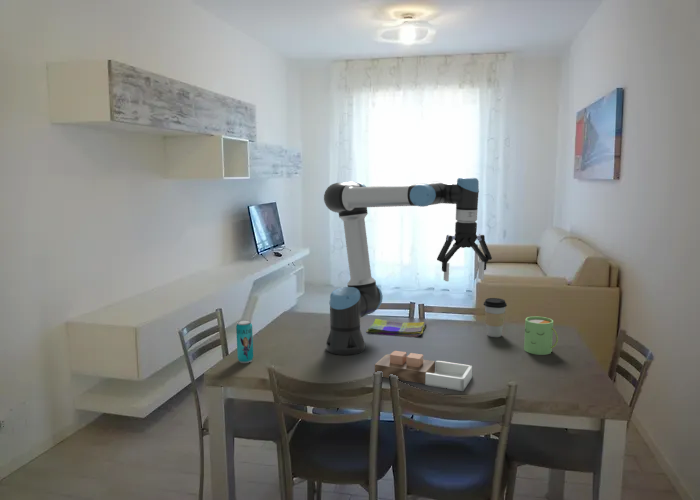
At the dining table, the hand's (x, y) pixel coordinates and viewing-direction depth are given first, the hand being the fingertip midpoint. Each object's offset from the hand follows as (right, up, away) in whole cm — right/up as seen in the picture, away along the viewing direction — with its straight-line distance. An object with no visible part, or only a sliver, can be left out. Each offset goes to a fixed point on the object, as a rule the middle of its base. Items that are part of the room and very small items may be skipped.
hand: (463, 279), depth 200 cm
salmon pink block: (-24, -28, -9) cm, 38 cm away
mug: (+32, -28, +12) cm, 44 cm away
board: (-22, -32, -10) cm, 40 cm away
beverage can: (-80, -30, +4) cm, 85 cm away
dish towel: (-20, -24, +41) cm, 52 cm away
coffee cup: (+19, -25, +32) cm, 45 cm away
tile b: (-19, -28, -12) cm, 36 cm away
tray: (-8, -33, -16) cm, 37 cm away
